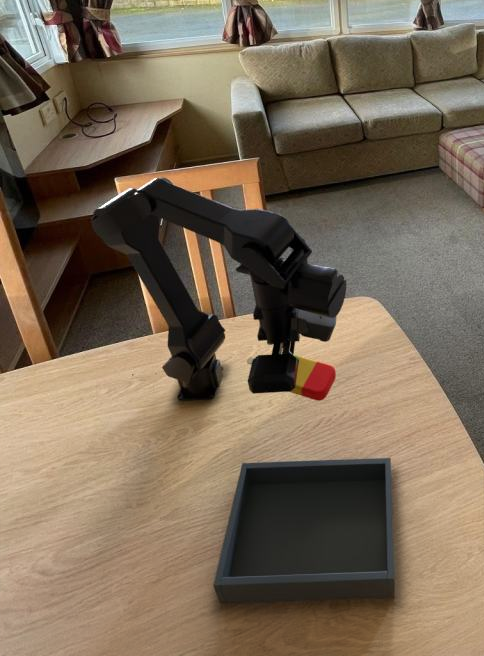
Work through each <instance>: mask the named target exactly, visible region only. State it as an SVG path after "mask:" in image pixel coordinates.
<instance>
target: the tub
mask: <svg viewBox="0 0 484 656" xmlns="http://www.w3.org/2000/svg"><path fill="white" fill-rule="evenodd" d="M392 490H393V489H392V460H391V457H371V458H344V459H317V460H316V459H315V460H314V459H313V460H290V461H286V460H285V461H264V462H262V461H261V462H258V461H257V462H242V463H241V467H240V471H239V476H238V480H237V485H236V488H235V491H234V492H235V493H234V496H233V501H232V505H231V510H230V513H229V517H228V522H227V527H226V531H225V534H224V538H223V543H222V547H221V552H220V556H219V560H218V564H217V568H216V572H215V577H214V581H213V589H214V592H215V594H216V597H217V600H218V603H219V605H237V604H238V605H239V604H259V603H260V604H262V603H290V602H292V603H293V602H313V601H315V602H316V601H343V600H344V601H345V600H367V599H369V600H370V599H394V598H396V589H395V588H396V587H395V585H396V582H395V557H394V554H395V553H394V551H395V550H394V520H393V519H394V518H393V493H392V492H393V491H392Z"/></svg>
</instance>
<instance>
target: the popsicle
mask: <svg viewBox="0 0 484 656" xmlns="http://www.w3.org/2000/svg"><path fill="white" fill-rule="evenodd" d="M293 356H295V357H296V358H297V359H299V365H298V372H297V379H296V386H295V388H294V389H293V390H292V391H291V392H290V394H291V393H292V394H294V395H298V396H301V397H304V398H307V399H310V400H314V401H317V402H318V401H319V402H320V401H323V400H324V399H326V398H327V396H328V395H329V392H330V390H331V389H332V387H333V385H334V383H335V380H336V377H337V372H336V369H335V367H334V366H333V365H331V364H328V363H324V362H321V361H318V360H313V359H310V358H308V357H307V358H306V357H303V356H299V355H296V354H293ZM254 358H255V357H248V358H247V360H246V363H247V364H249V365H250V366H251V365H252V361H253V359H254Z"/></svg>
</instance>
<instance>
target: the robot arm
mask: <svg viewBox="0 0 484 656" xmlns="http://www.w3.org/2000/svg"><path fill="white" fill-rule="evenodd" d="M161 219H162V220H164V221H166V222H168V223H171V224H174V225H175V226H178V227H181V228H183V229H185V230H188V231H190V232H192V233H195V234H197V235H200V236H202V237H205V238H207V239H209V240H212V241H213V242H215V243H216V242H217V243H218V244H220V245H222V246H223V247H224V248H225V250H226V252H227V254H228V255H229V257H230V258H231V259H232V260H234V261H236V262H237V263H239V264H238V265H237V266H236V268H235V272H237V273H240V274H245V275H248V276H250V281H251V287H252V292H253V297H254V302H255V305H254V310H253V313H252V316H253V320H254V321H258V324H259V327H258V332H257V336H256V337H257V341H258V342H261V341H263V342H264V341H266V345H267V346H272V350H271V353H270V354H258V355H257V356H256V357H253V358H254V359H253V361H252V365H251V364H250V369H249V373H248V376H247V377H248V378H247V384H248V390H249V391H250V392H251V393H252V394H253V395H254V394H273V393H291V391H292V390H293V389H294V388H295V386H296V379H297V372H298V365H299V359H297V358H296V357H295V356H293V355H295V347H296V342H300V340H301V339H300V338H301V336H302V337H304V338H308V339H309V338H310V339H314V340H319V341H320V342H324V343H327V342H329V341H330V340H331V338H332V335H333V333H334V330H335V327H336V325H337V316H338V315H339V314H340V312H341V310H342V307H343V305H344V302H345V299H346V294H347V279H345V277H344V275H343V274H340V273H338V272H339V271H338V269H337V268H335V267H334V268H333V267H329V266H321V265H316V264H311V263H308V259H309V257H310V256H311V254H312V253H313V250H312V249H311V247H310V246H309V245H308V244H307V243H306V239H304V238H303V236H301V235H300V234H299V232H297V231H296V229H295V228H294V227H293V225H292V224H291V223H290V221H289V220H288V218H286V217H285V216H284V215H282V214H280V213H277V212H274V211H269V210H265V209H261V208H249V209H237V208H234V207H231V206H228V205H226V204H223V203H220V202H219V201H216V200H213V199H210V198H208V197H206V196H203V195H201V194H198V193H195V192H193V191H191V190H188V189H186V188H183V187H181V186H179V185H175V184H174V183H173V182H172V181H171V180H170V179H168V178H167V177H164V176H161V177H155V178H153V179H152V180H150V181H149V182H147V183H146V184H144V185H142V186H140V187H139V188H138V189H137V188H128V189H126V190H123V192H121V193H119V194H117V196H115V197H113V198H112V199H110V200H109V201H106V202H105V203H103V204H102V205H100V206H99V207H97V208H96V209H95V210H94V211H93V212H92V217H91V218H90V220H91V221H90V222H91V226H92V229H93V230H94V233H95V234H96V235H97V236H98V237H100V239H101V240H102V241H103V242H104V244H105V245H106V246H107V247H108V248H110V249H113V250H115V251H117V252H120V253H122V254H124V255H126V256H127V258H128V260H129V261H130V263H131V266H132V267H133V268H134V270H135V271H136V274H137V275H138V277H139V278H140V280H141V282H142V283H143V285H144V287H145V288H146V290H147V292H148V294H149V295H150V297H151V299H152V301H153V302H154V304H155V306H156V308H157V309H158V311H159V313H160V314H161V316H162V318H163V319H164V321H165V322H166V324H167V327H168V333H167V348H168V351H169V353H170V355H171V356H170V357H169V358H168V360H167V361H166V362H165V363H164V364H163V365H162V366H161V368H162V371H163V372H164V373H165V374H166V376H167V377H169V378H172V379H175V380H176V381H177V383H178V386H179V391H178V394H177V396H176V399H177V401H179V402H181V401H182V402H185V401H209V400H214V399H215V397H216V394H217V393H218V388H220V386H221V383H222V380H223V377H224V371H225V369H224V366H222V365H221V361H220V359H219V358H218V359H217V354H216V352H217V351H218V350H219V349H220V348H221V346H222V345H223V344H224V342H225V339H226V333H225V332H226V328H224V327H223V325H222V324H221V321H220V320H219V317H218V316H217V314H214V313H212V314H210V313H208V312H204V311H202V310H199V308H198V307H197V305H196V304H195V302H194V300H193V298H192V296H191V295H190V292H189V290H188V289H187V287H186V285H185V283H184V282H183V280H182V278H181V276H180V275H179V273H178V271H177V270H176V268H175V266H174V263H173V262H172V260H171V258H170V256H169V255H168V253H167V251H166V249H165V248H164V245H163V244H162V242H161V240H160V226H161V225H160V224H161ZM289 248H290V249H292V251H291V253H289V255H288V256H287V257H286V259H285V258H284V257H282V256H283V255H284V254H285V252H286V251H287V250H288V249H289Z"/></svg>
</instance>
